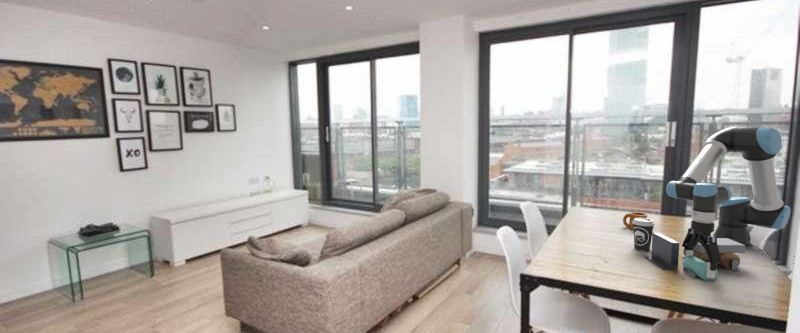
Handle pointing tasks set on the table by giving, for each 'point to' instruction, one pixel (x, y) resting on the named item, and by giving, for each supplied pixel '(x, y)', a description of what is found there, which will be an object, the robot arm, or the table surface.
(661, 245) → the block
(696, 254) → the roller
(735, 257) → the roller
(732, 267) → the roller bed
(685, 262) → the roller
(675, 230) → the table surface
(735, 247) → the slab
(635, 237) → the coffee cup
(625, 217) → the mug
